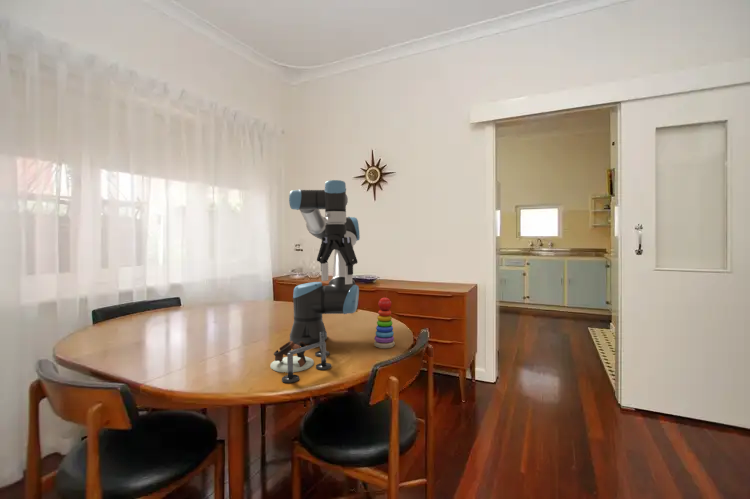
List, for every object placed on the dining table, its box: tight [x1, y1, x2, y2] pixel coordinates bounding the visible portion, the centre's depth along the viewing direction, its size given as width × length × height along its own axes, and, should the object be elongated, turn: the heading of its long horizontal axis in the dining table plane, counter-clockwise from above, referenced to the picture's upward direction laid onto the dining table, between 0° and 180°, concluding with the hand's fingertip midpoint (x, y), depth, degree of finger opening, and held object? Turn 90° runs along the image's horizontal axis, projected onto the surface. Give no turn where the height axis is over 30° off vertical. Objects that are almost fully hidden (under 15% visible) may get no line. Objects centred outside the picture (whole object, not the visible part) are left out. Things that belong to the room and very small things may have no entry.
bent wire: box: [281, 331, 332, 384], centre depth 117 cm, size 15×26×8 cm, turn 139°
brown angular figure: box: [273, 341, 307, 367], centre depth 119 cm, size 12×10×8 cm
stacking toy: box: [373, 297, 396, 349], centre depth 137 cm, size 8×8×19 cm
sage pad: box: [269, 355, 315, 374], centre depth 118 cm, size 14×14×1 cm
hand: (336, 282), depth 130 cm, fingers open, 13 cm apart
